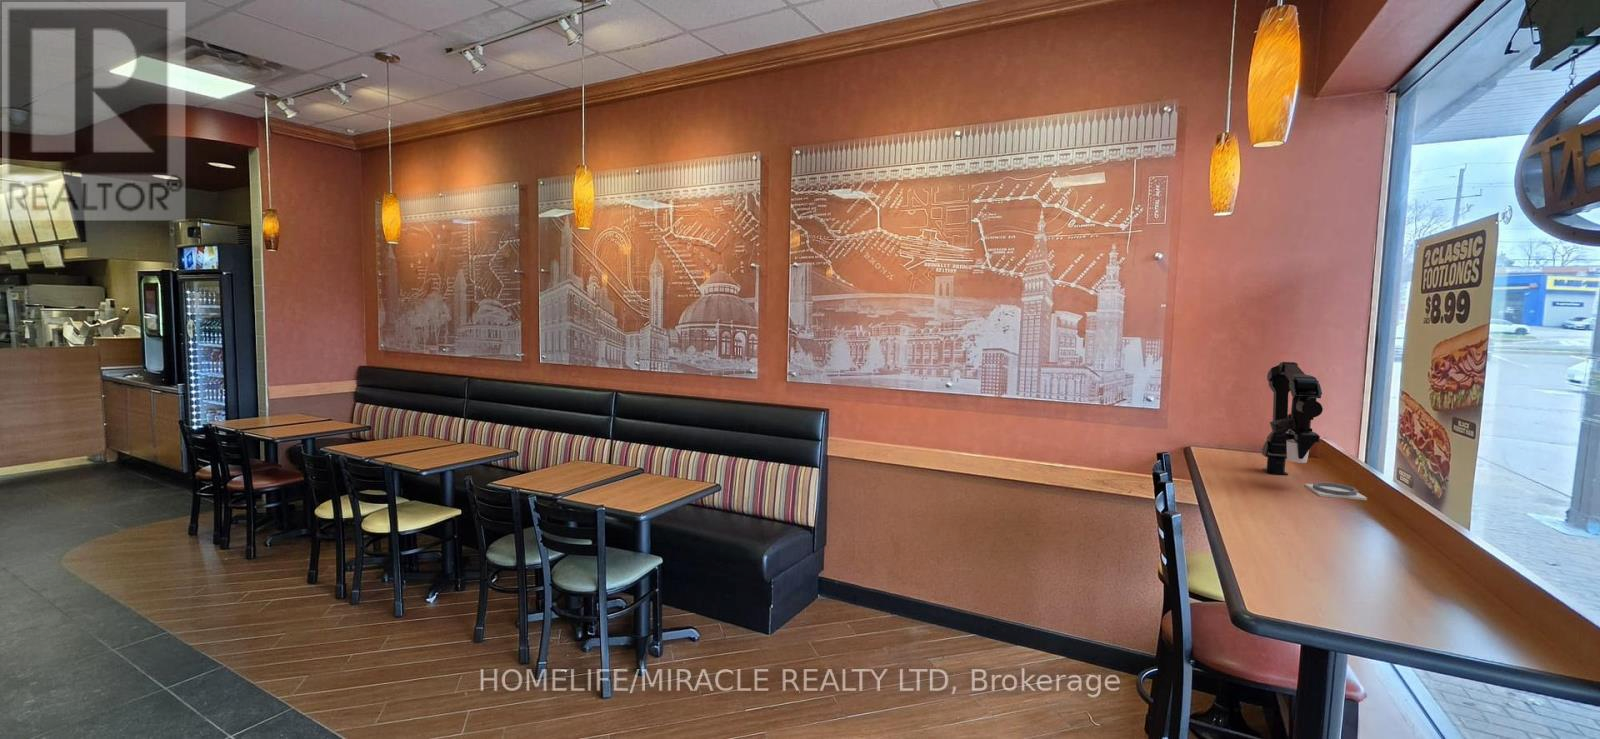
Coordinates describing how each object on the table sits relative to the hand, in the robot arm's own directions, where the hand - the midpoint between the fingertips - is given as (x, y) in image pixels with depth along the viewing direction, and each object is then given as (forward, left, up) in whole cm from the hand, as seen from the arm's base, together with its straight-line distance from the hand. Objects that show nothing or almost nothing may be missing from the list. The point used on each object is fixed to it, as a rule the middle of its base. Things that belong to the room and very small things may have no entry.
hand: (1297, 456), depth 230 cm
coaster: (+1, +11, -11) cm, 16 cm away
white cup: (0, 0, -2) cm, 2 cm away
